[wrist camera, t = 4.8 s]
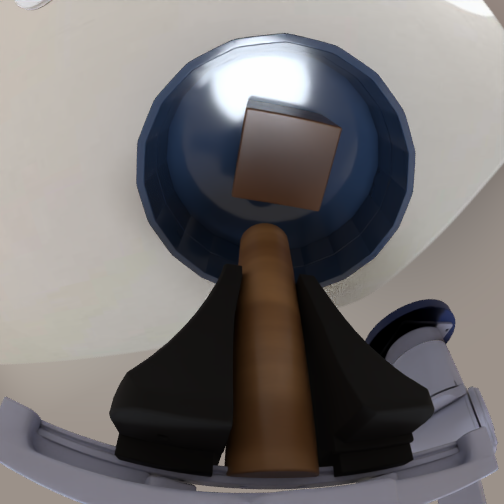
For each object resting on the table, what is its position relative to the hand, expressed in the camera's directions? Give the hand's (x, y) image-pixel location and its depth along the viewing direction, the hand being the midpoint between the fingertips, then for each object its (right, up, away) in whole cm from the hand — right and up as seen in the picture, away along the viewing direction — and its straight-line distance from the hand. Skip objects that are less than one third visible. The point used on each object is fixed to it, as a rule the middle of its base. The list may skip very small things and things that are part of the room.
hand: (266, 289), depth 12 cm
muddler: (0, +2, +3) cm, 3 cm away
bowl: (+1, +7, +4) cm, 8 cm away
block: (+1, +7, +3) cm, 8 cm away
